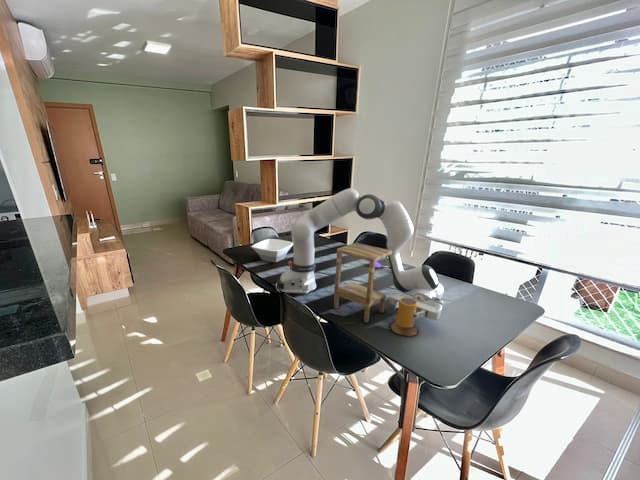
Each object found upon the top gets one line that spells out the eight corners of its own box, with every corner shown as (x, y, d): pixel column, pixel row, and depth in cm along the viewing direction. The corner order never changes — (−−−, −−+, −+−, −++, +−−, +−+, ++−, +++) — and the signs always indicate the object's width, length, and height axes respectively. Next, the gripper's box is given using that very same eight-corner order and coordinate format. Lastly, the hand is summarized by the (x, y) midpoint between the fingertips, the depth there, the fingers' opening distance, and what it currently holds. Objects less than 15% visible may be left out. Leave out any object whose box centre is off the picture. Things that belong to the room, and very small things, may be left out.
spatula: (406, 273, 174) (407, 269, 173) (400, 276, 170) (401, 272, 169) (373, 262, 191) (373, 259, 191) (366, 265, 188) (367, 261, 187)
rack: (366, 323, 124) (373, 258, 113) (333, 307, 137) (337, 248, 125) (383, 311, 133) (391, 250, 122) (351, 298, 145) (355, 242, 134)
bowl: (296, 256, 207) (296, 242, 203) (277, 267, 187) (277, 252, 183) (269, 250, 219) (268, 237, 215) (248, 260, 199) (247, 246, 196)
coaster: (397, 336, 114) (397, 336, 114) (386, 323, 124) (386, 322, 123) (421, 335, 115) (421, 334, 115) (409, 322, 124) (409, 321, 124)
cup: (400, 327, 115) (404, 305, 111) (393, 319, 121) (396, 297, 117) (416, 327, 115) (420, 304, 111) (408, 318, 121) (412, 297, 118)
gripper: (399, 286, 130) (383, 296, 122) (447, 302, 116) (433, 314, 107) (397, 299, 132) (381, 309, 124) (444, 316, 118) (430, 329, 110)
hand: (405, 312), depth 115 cm, fingers closed on cup, 6 cm apart
